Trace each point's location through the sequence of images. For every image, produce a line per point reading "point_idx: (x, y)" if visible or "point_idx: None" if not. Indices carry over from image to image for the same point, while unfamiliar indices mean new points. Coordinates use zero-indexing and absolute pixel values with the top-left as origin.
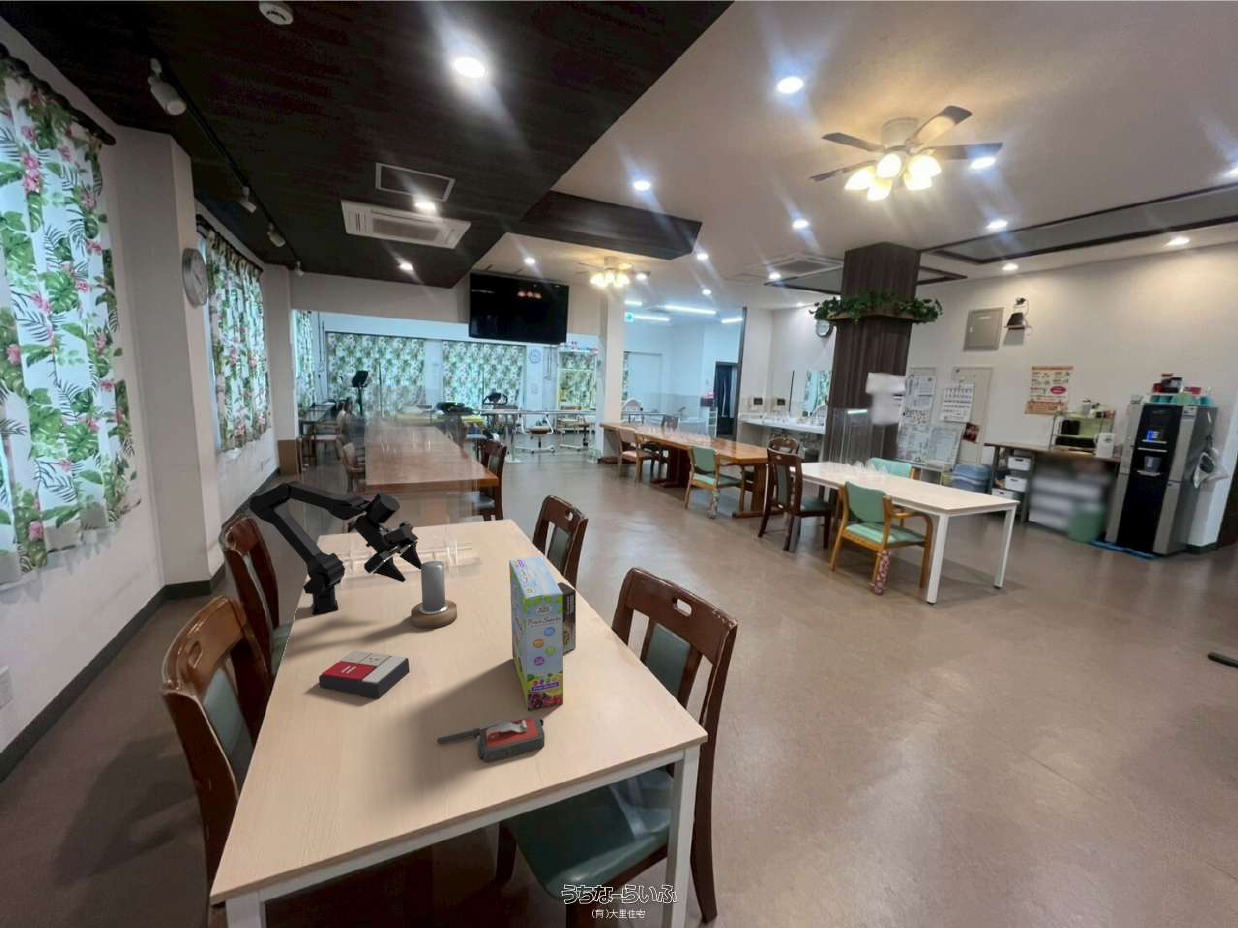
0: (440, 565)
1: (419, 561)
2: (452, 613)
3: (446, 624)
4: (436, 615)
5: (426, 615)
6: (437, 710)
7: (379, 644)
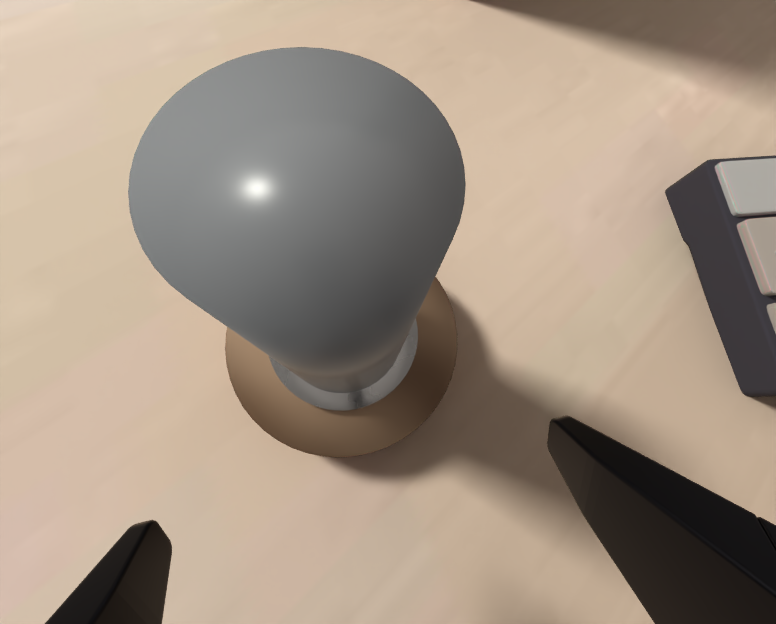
0: (287, 71)
1: (72, 620)
2: None
3: None
4: None
5: (419, 321)
6: (724, 42)
7: (621, 404)
